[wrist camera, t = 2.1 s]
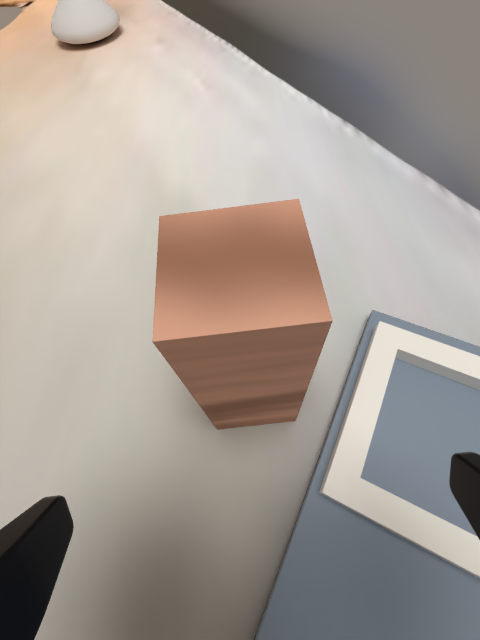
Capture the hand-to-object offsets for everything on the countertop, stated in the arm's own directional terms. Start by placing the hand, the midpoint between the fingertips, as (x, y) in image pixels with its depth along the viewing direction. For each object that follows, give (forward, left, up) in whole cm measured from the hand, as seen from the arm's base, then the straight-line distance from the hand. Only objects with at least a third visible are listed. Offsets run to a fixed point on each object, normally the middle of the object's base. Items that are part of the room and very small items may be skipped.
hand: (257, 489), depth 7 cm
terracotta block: (+5, +3, -12) cm, 14 cm away
